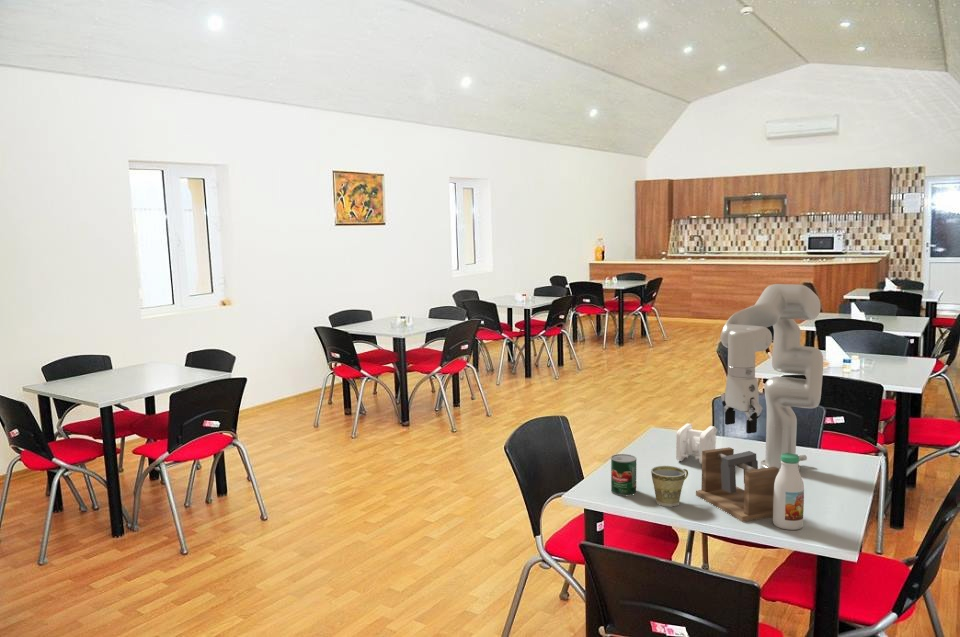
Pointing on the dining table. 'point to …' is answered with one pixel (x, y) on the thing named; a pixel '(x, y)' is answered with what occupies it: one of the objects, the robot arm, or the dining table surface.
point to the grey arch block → (729, 469)
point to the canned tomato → (623, 474)
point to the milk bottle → (788, 494)
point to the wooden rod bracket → (742, 502)
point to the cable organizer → (694, 442)
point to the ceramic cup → (668, 484)
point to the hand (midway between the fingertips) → (740, 428)
